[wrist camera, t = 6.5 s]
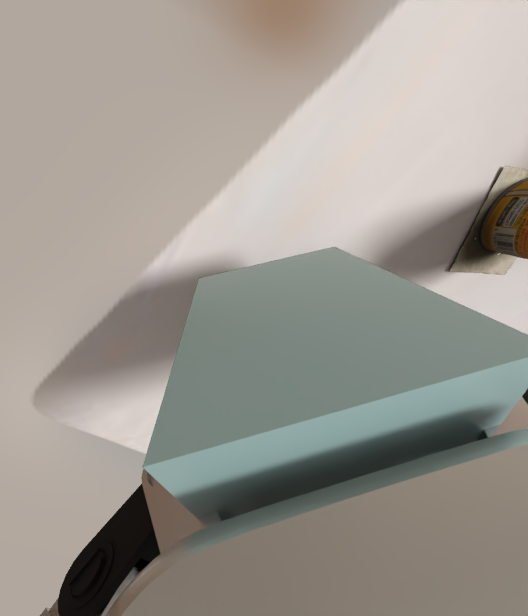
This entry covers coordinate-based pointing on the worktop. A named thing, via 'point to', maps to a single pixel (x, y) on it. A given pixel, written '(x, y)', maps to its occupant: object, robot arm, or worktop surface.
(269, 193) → the worktop surface
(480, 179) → the worktop surface
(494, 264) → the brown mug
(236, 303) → the mint green cube
